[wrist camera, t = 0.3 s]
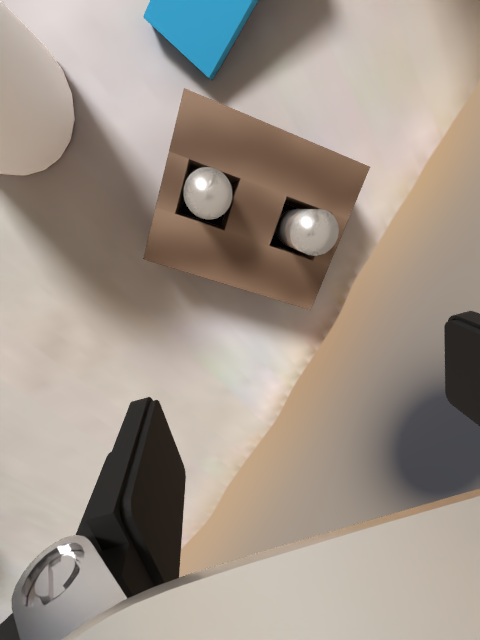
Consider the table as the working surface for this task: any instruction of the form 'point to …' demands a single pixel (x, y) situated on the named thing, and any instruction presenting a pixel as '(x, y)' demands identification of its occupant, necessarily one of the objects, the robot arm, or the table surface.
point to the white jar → (30, 101)
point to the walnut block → (249, 201)
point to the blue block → (201, 27)
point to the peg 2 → (308, 230)
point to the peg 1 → (207, 193)
